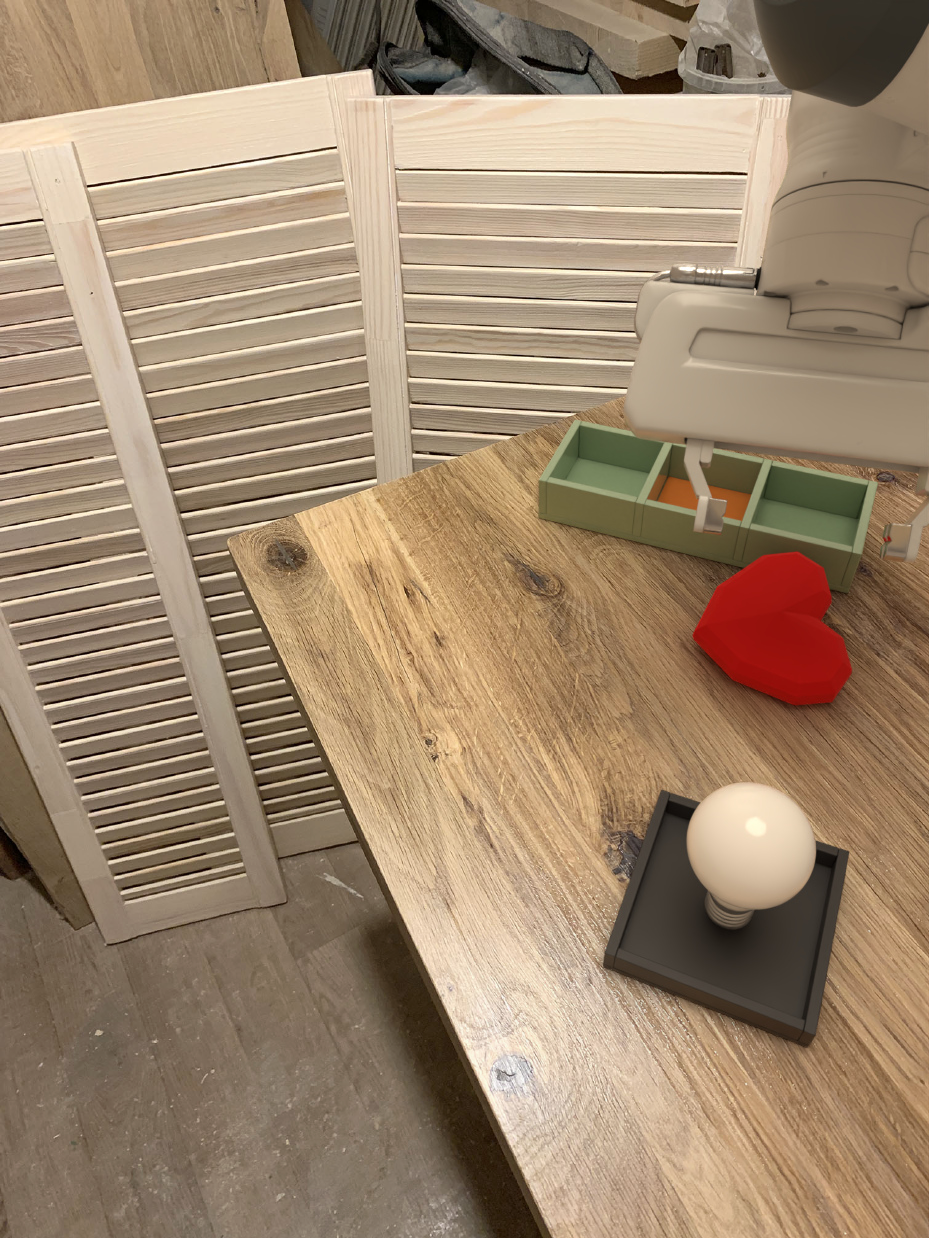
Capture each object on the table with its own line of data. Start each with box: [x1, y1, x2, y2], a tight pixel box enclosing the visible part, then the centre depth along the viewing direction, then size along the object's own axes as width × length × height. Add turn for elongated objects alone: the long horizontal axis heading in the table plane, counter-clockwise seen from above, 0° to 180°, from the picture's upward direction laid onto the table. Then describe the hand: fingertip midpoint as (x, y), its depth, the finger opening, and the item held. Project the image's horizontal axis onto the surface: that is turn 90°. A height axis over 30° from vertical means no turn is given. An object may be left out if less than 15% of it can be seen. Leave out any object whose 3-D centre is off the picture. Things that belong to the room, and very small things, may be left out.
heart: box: [691, 552, 853, 706], centre depth 66 cm, size 12×4×10 cm
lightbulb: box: [686, 781, 817, 929], centre depth 49 cm, size 6×6×11 cm
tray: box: [602, 789, 850, 1048], centre depth 53 cm, size 11×11×2 cm
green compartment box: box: [538, 419, 879, 594], centre depth 75 cm, size 25×9×4 cm, turn 66°
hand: (799, 546), depth 48 cm, fingers open, 8 cm apart
